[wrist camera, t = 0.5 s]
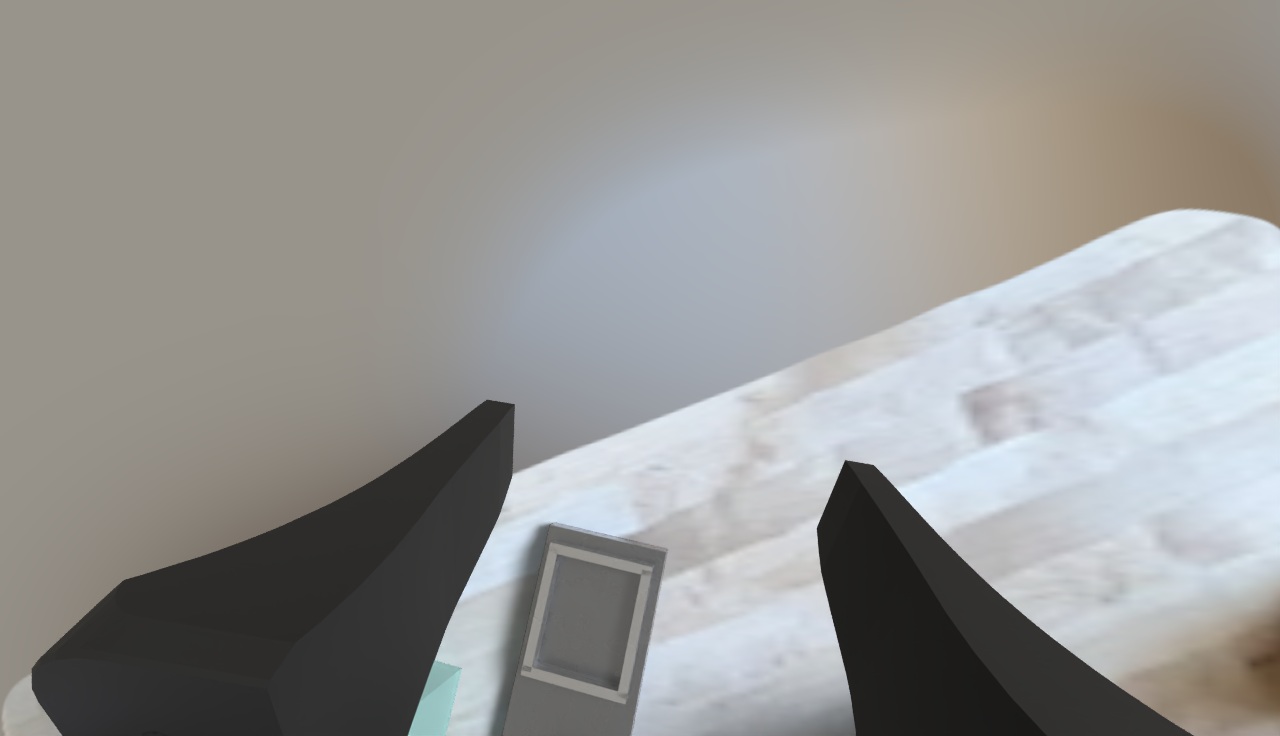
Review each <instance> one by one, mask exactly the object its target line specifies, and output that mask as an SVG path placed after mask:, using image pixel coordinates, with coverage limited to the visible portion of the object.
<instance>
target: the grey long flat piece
mask: <svg viewBox="0 0 1280 736" xmlns="http://www.w3.org/2000/svg"><path fill="white" fill-rule="evenodd" d="M667 551H668V549H665V548H661V547H657V546H652V545H648V544H644V543H640V542H636V541H631V540H627V539H623V538H619V537H614V536H610V535H606V534H602V533H597V532H593V531H589V530H585V529H581V528H576V527H572V526H568V525H564V524H559V523H553V524H550V527H549V531H548V535H547V540H546V544H545V549H544V553H543V557H542V562H541V566H540V571H539V575H538V579H537V584H536V588H535V593H534V597H533V602H532V606H531V610H530V615H529V619H528V624H527V628H526V632H525V637H524V641H523V646H522V650H521V654H520V659H519V663H518V668H517V672H516V676H515V681H514V685H513V690H512V694H511V698H510V703H509V707H508V712H507V716H506V721H505V725H504V729H503V734H502V736H632V731H633V726H634V721H635V715H636V710H637V705H638V700H639V695H640V690H641V685H642V680H643V674H644V669H645V664H646V659H647V654H648V649H649V644H650V639H651V633H652V628H653V623H654V618H655V613H656V608H657V603H658V598H659V592H660V587H661V582H662V577H663V572H664V567H665V562H666V556H667Z"/></svg>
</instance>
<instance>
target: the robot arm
mask: <svg viewBox="0 0 1280 736" xmlns="http://www.w3.org/2000/svg"><path fill="white" fill-rule="evenodd" d="M514 409H515V405H514V404H509V403H504V402H498V401H492V400H486V401H485V402H483V403H482V404H480V405H479V406H478V407H476V408H475V409H474V410H472V411H471V412H470V413H468V414H467V415H466V416H465V417H464V418H462V419H461V420H459V422H457V423H456V424H454V425H453V426H452V427H450V428H449V429H448V430H447V431H445V432H444V433H442V434H441V435H440V436H438V437H437V438H436V439H434V440H433V441H432V442H430V443H429V444H427V445H426V446H425V447H423V448H422V449H421V450H419V451H418V452H416V453H415V454H413V455H412V456H411V457H409V458H407V459H406V460H404V461H403V462H401V463H400V464H398V465H397V466H395V467H394V468H392V469H390V470H389V471H388V472H386V473H384V474H383V475H381V476H380V477H378V478H376V479H375V480H373V481H371V482H370V483H368V484H366V485H364V486H363V487H361V488H359V489H357V490H355V491H353V492H352V493H350V494H348V495H346V496H344V497H342V498H340V499H339V500H337V501H335V502H333V503H331V504H329V505H327V506H325V507H322V508H320V509H318V510H316V511H314V512H311V513H309V514H307V515H305V516H302V517H300V518H298V519H296V520H294V521H292V522H289V523H287V524H285V525H283V526H281V527H278V528H276V529H273V530H271V531H268V532H266V533H263V534H261V535H258V536H256V537H253V538H251V539H248V540H246V541H243V542H240V543H238V544H235V545H232V546H229V547H227V548H224V549H221V550H219V551H216V552H213V553H210V554H207V555H204V556H201V557H198V558H195V559H192V560H188V561H185V562H182V563H179V564H176V565H172V566H169V567H166V568H163V569H159V570H156V571H153V572H150V573H147V574H144V575H140V576H137V577H133V578H130V579H126V580H124V581H122V582H121V583H120V584H119V585H118V586H117V587H116V588H114V589H113V590H112V591H111V592H110V593H109V594H108V595H107V596H106V597H105V598H104V599H102V600H101V601H100V602H99V603H98V604H97V605H96V606H95V607H94V608H93V609H92V610H91V611H90V612H89V613H88V614H86V615H85V616H84V617H83V618H82V619H81V620H80V621H79V622H78V623H77V624H76V625H75V626H74V627H73V628H71V629H70V630H69V631H68V632H67V633H66V634H65V635H64V636H63V637H62V638H61V639H60V640H59V641H58V642H57V643H56V644H54V645H53V646H52V647H51V648H50V649H49V650H48V651H47V652H46V653H45V654H44V655H43V656H42V657H41V658H40V659H39V660H38V661H37V663H36V664H35V665H34V667H33V668H32V690H33V692H34V694H35V696H36V698H37V700H38V702H39V703H40V705H41V706H42V708H43V709H44V710H45V712H46V713H47V715H48V716H49V717H50V719H51V720H52V722H53V723H54V724H55V726H56V727H57V729H58V730H59V731H60V733H61V734H62V736H408V734H409V731H410V728H411V725H412V722H413V719H414V716H415V714H416V711H417V708H418V705H419V702H420V699H421V696H422V694H423V691H424V688H425V685H426V682H427V679H428V677H429V674H430V671H431V668H432V666H433V663H434V660H435V657H436V655H437V652H438V649H439V647H440V644H441V641H442V638H443V636H444V633H445V630H446V628H447V625H448V623H449V621H450V618H451V616H452V614H453V611H454V609H455V607H456V605H457V603H458V600H459V598H460V596H461V594H462V592H463V590H464V588H465V586H466V584H467V582H468V580H469V578H470V576H471V574H472V572H473V570H474V567H475V565H476V563H477V561H478V559H479V557H480V555H481V553H482V551H483V549H484V547H485V545H486V543H487V541H488V538H489V536H490V534H491V532H492V530H493V528H494V526H495V524H496V522H497V519H498V517H499V515H500V512H501V509H502V506H503V503H504V500H505V497H506V494H507V491H508V488H509V485H510V482H511V479H512V469H513V468H512V467H513V439H514V411H515V410H514ZM817 536H818V547H819V557H820V565H821V573H822V577H823V582H824V586H825V590H826V594H827V598H828V602H829V607H830V611H831V615H832V619H833V623H834V627H835V631H836V635H837V639H838V643H839V647H840V651H841V655H842V659H843V663H844V667H845V671H846V675H847V680H848V685H849V690H850V695H851V701H852V708H853V715H854V722H855V729H856V736H1193V735H1192V734H1190V733H1188V732H1187V731H1185V730H1184V729H1182V728H1180V727H1179V726H1177V725H1175V724H1174V723H1172V722H1171V721H1169V720H1168V719H1166V718H1164V717H1163V716H1161V715H1160V714H1158V713H1157V712H1155V711H1154V710H1152V709H1151V708H1149V707H1148V706H1146V705H1145V704H1143V703H1142V702H1140V701H1139V700H1137V699H1136V698H1134V697H1133V696H1131V695H1130V694H1128V693H1127V692H1125V691H1124V690H1122V689H1121V688H1120V687H1118V686H1117V685H1115V684H1114V683H1112V682H1111V681H1110V680H1108V679H1107V678H1105V677H1104V676H1102V675H1101V674H1100V673H1098V672H1097V671H1095V670H1094V669H1093V668H1091V667H1090V666H1089V665H1087V664H1086V663H1085V662H1083V661H1082V660H1081V659H1079V658H1078V657H1077V656H1075V655H1074V654H1073V653H1071V652H1070V651H1069V650H1067V649H1066V648H1065V647H1063V646H1062V645H1061V644H1059V643H1058V642H1057V641H1055V640H1054V639H1053V638H1052V637H1050V636H1049V635H1048V634H1046V633H1045V632H1044V631H1043V630H1041V629H1040V628H1039V627H1038V626H1036V625H1035V624H1034V623H1033V622H1032V621H1030V620H1029V619H1028V618H1027V617H1026V616H1025V615H1023V614H1022V613H1021V612H1020V611H1019V610H1018V609H1016V608H1015V607H1014V606H1013V605H1012V604H1010V603H1009V602H1008V601H1007V600H1006V599H1005V598H1003V597H1002V596H1001V595H1000V594H999V593H998V592H997V591H996V590H994V589H993V588H992V587H991V586H990V585H989V584H988V583H987V582H986V581H985V580H984V579H983V578H982V577H980V576H979V575H978V574H977V573H976V572H975V571H974V570H973V569H972V568H971V567H970V566H969V565H968V564H967V563H966V562H965V561H964V560H963V559H962V558H961V557H960V556H959V555H958V554H957V553H956V552H955V551H954V550H953V549H952V548H951V547H950V546H949V545H948V544H947V543H946V542H945V541H944V540H943V539H942V538H941V537H940V536H939V535H938V534H937V533H936V532H935V530H934V529H933V528H932V527H931V526H930V525H929V524H928V523H927V522H926V521H925V520H924V519H923V518H922V517H921V515H920V514H919V513H918V512H917V511H916V510H915V509H914V508H913V507H912V506H911V505H910V503H909V502H908V501H907V500H906V499H905V498H904V497H903V496H902V495H901V494H900V492H899V491H898V490H897V489H896V488H895V487H894V486H893V485H892V484H891V483H890V482H889V480H888V479H887V478H886V477H885V476H884V475H883V474H882V473H881V472H880V471H879V470H878V469H877V468H876V467H875V466H874V465H870V464H864V463H858V462H853V461H847V460H845V462H844V464H843V467H842V469H841V472H840V474H839V476H838V479H837V481H836V484H835V486H834V488H833V491H832V493H831V495H830V498H829V500H828V503H827V505H826V507H825V510H824V512H823V515H822V517H821V519H820V522H819V524H818V527H817Z"/></svg>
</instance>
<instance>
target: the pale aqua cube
mask: <svg viewBox="0 0 1280 736" xmlns="http://www.w3.org/2000/svg"><path fill="white" fill-rule="evenodd" d="M461 669H462V668H459V667H456V666H452V665H449V664H445V663H442V662H438V661H435V660H434V663H433V666H432V668H431V671H430V674H429V677H428V679H427V682H426V685H425V688H424V691H423V694H422V696H421V699H420V702H419V705H418V708H417V711H416V714H415V716H414V719H413V722H412V725H411V728H410V731H409V734H408V736H446V732H447V728H448V723H449V719H450V715H451V711H452V707H453V703H454V699H455V694H456V690H457V686H458V682H459V678H460V674H461Z"/></svg>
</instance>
